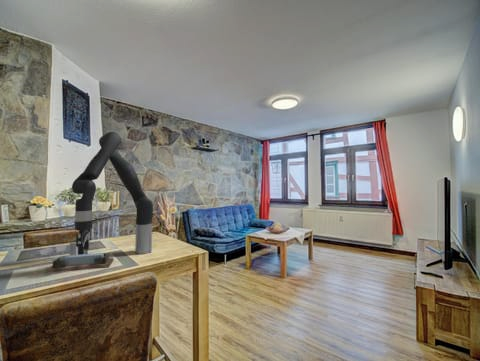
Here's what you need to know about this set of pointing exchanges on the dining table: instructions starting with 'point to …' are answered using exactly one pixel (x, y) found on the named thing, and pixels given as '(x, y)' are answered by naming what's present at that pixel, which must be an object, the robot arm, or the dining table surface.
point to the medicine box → (75, 249)
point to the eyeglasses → (49, 250)
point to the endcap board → (98, 263)
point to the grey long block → (81, 259)
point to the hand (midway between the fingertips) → (83, 251)
